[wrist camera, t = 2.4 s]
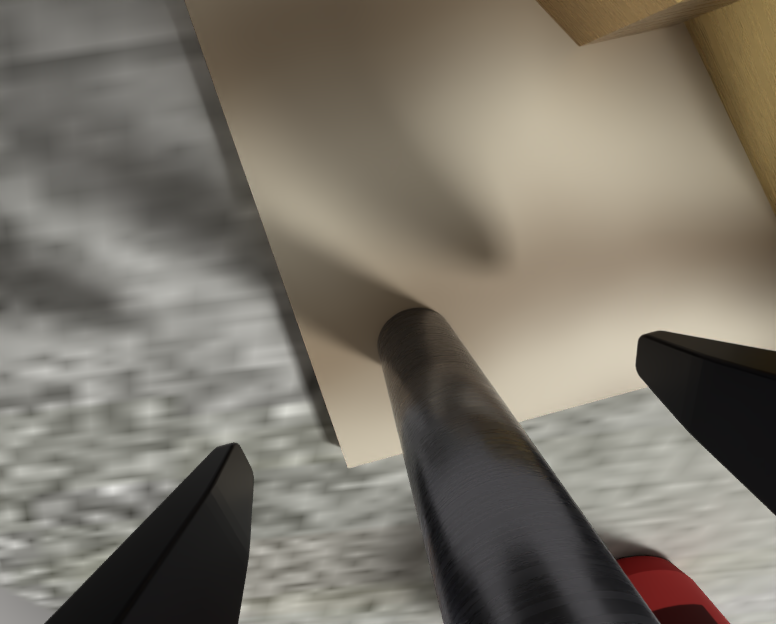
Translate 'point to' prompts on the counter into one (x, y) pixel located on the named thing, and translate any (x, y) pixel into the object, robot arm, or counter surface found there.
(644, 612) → the pin
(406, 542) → the counter surface
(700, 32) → the spoked octagonal hub
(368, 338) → the mounting board
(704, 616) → the canned food
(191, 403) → the counter surface
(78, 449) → the counter surface
